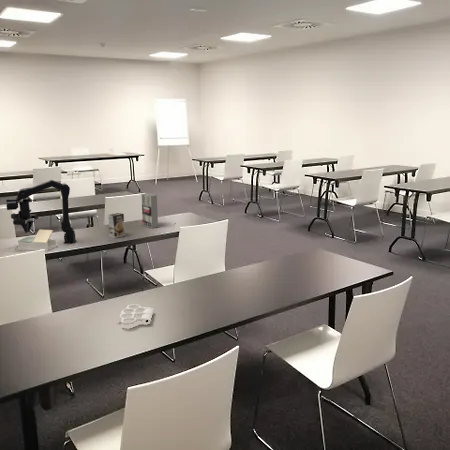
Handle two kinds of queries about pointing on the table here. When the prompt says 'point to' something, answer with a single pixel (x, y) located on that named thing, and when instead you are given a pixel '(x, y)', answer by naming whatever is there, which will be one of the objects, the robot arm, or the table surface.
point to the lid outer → (27, 239)
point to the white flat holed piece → (145, 314)
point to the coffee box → (116, 225)
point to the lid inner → (42, 236)
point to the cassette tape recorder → (149, 210)
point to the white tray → (37, 245)
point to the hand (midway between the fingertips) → (27, 232)
